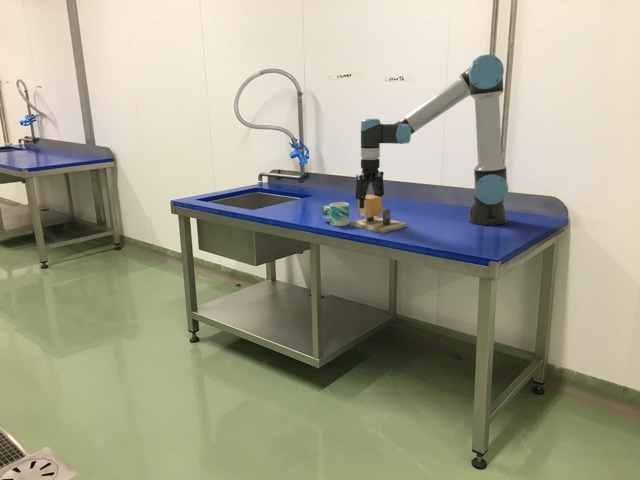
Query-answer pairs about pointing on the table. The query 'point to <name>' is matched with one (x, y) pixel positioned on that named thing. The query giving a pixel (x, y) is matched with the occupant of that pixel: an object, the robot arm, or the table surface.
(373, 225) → the board
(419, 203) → the table surface
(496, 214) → the robot arm
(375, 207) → the wooden block
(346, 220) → the mug
